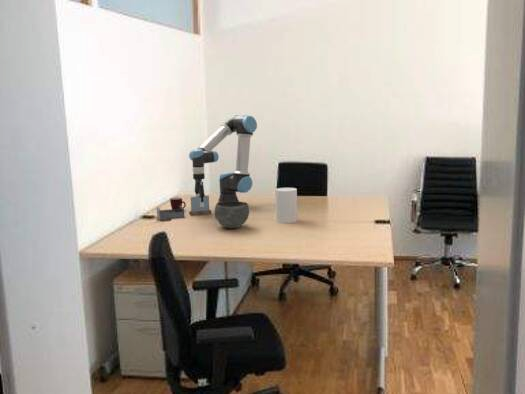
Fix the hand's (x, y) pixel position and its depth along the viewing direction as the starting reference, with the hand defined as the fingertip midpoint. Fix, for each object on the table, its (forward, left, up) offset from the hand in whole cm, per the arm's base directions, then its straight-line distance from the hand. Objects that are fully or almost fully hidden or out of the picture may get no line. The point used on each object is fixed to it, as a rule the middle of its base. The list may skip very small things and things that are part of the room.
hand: (200, 205), depth 388 cm
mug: (+12, -16, -7) cm, 21 cm away
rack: (+20, 0, -7) cm, 21 cm away
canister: (-47, +38, -7) cm, 61 cm away
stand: (0, 0, -7) cm, 7 cm away
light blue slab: (0, 0, -6) cm, 6 cm away
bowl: (-11, +42, -7) cm, 44 cm away
